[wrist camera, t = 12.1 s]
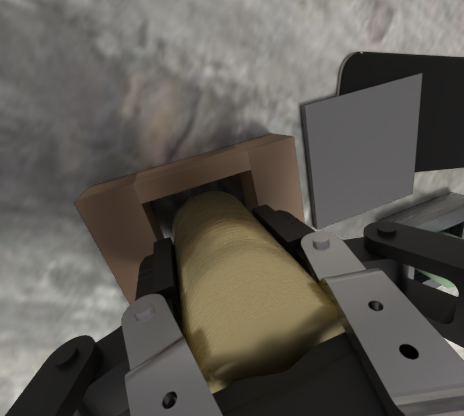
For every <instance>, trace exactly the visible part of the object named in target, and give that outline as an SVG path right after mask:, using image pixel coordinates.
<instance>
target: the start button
mask: <svg viewBox="0 0 464 416" xmlns="http://www.w3.org/2000/svg"><path fill="white" fill-rule="evenodd" d="M437 233H440V234H444V235H448V236H452V237H457V236H454V235H452V234H449V233H447V232H444V231H440V232H437ZM457 238H459V237H457ZM461 239H462V238H461ZM415 269H416V270H418V271H419V272H421V273H423V274H424V275H426V276H428V277H429V278H431V279H433V280H435V281H436V282H438V283H440V284H441V285H443V286H445V287H454V286H455V285H454V284H453V283H452V282H450V281H448V280H447V279H444V278H442V277H439V276H436V275H433V274H430V273H428V272H425V271H422V270H419V269H417V268H415Z"/></svg>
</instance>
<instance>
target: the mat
mask: <svg viewBox="0 0 464 416" xmlns="http://www.w3.org/2000/svg"><path fill="white" fill-rule="evenodd" d="M421 84H422V73H420V74H416V75H413V76H409V77H406V78H402V79H398V80H395V81H391V82H388V83H384V84H380V85H377V86H373V87H370V88H366V89H362V90H359V91H355V92H352V93H348V94H344V95H341V96H336V97H332V98H328V99H325V100H321V101H318V102H314V103H310V104H307V105H303V106H301V110H302V119H303V128H304V138H305V147H306V156H307V166H308V175H309V184H310V194H311V203H312V212H313V222H314V228H316V229H317V230H318V229H321V228H323V227H326V226H329V225H331V224H334V223H337V222H339V221H342V220H345V219H347V218H350V217H353V216H355V215H358V214H361V213H363V212H366V211H368V210H371V209H374V208H376V207H379V206H382V205H384V204H387V203H390V202H392V201H395V200H398V199H400V198H403V197H406V196H408V195H411V194H413V183H414V171H415V158H416V146H417V134H418V121H419V109H420V97H421Z"/></svg>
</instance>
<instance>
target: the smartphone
mask: <svg viewBox="0 0 464 416" xmlns="http://www.w3.org/2000/svg"><path fill="white" fill-rule="evenodd" d="M420 73H422V84H421V97H420V109H419V121H418V134H417V146H416V158H415V171H414V172H422V171H432V170H443V169H453V168H463V167H464V57H446V56H428V55H411V54H393V53H376V52H357V53H354V54H351V55H350V56H348V57H347V58H346V59H345V61H344V62H343V64H342V66H341V68H340V72H339V79H338V89H337V96H341V95H344V94H348V93H352V92H355V91H359V90H362V89H366V88H370V87H373V86H377V85H380V84H384V83H388V82H391V81H395V80H398V79H402V78H406V77H409V76H413V75H416V74H420Z"/></svg>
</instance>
